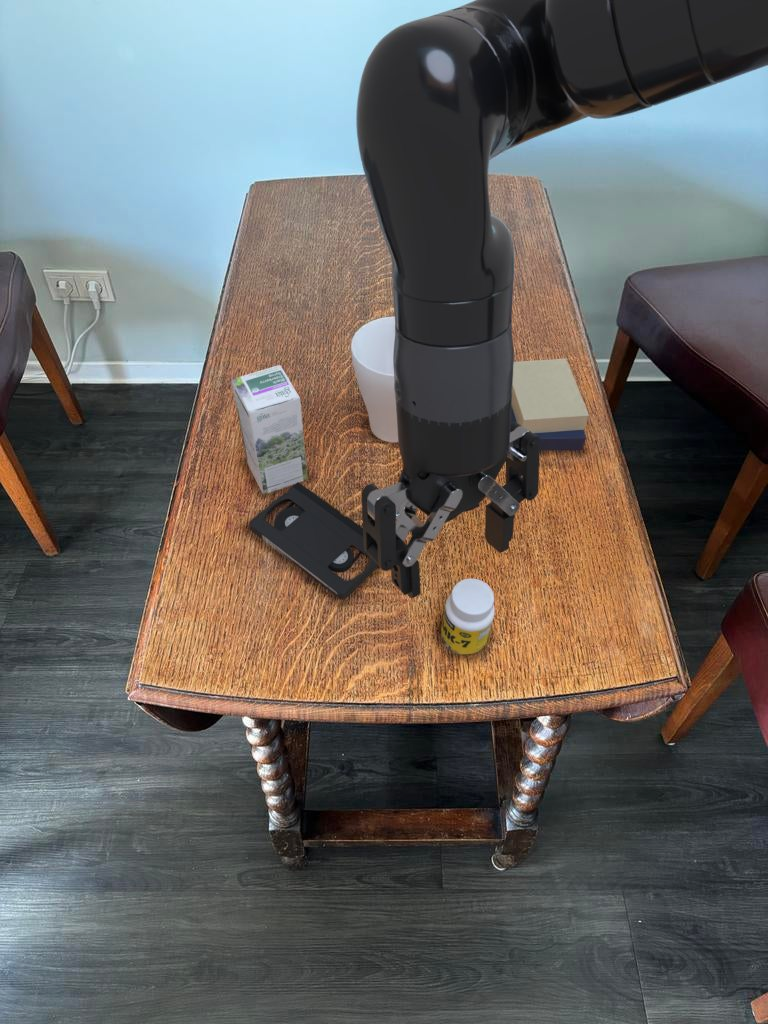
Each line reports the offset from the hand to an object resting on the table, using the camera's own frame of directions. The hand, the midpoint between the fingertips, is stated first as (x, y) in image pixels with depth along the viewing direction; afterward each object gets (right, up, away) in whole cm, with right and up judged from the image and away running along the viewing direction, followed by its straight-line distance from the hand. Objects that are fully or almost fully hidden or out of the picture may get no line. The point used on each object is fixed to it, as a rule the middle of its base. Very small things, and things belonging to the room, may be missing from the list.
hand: (454, 567), depth 57 cm
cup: (-4, +15, +35) cm, 39 cm away
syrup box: (-18, +9, +30) cm, 36 cm away
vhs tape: (-13, 0, +24) cm, 27 cm away
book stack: (+14, +16, +37) cm, 42 cm away
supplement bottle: (+3, -9, +17) cm, 20 cm away
